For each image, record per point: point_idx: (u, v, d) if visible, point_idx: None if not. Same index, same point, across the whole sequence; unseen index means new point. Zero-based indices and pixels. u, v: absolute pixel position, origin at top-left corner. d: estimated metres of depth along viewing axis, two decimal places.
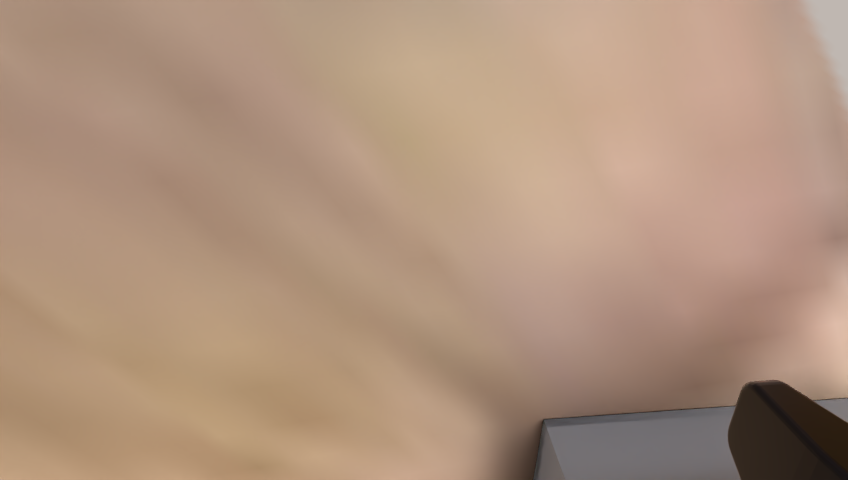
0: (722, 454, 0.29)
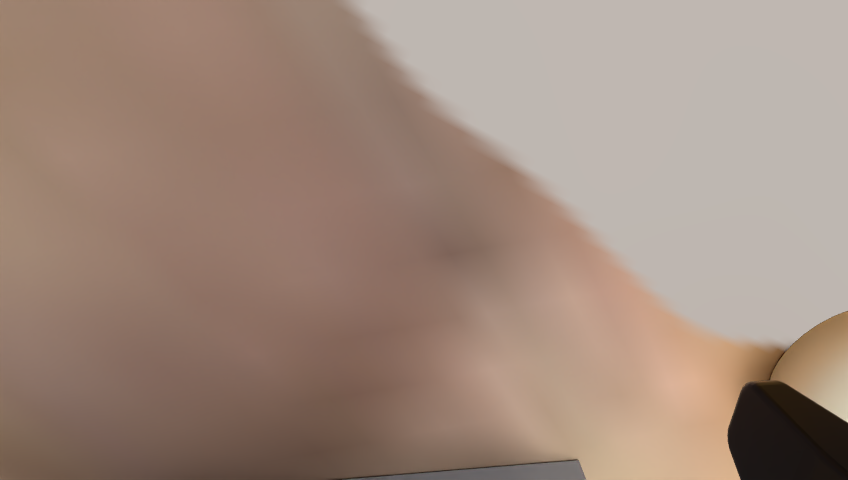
0: None
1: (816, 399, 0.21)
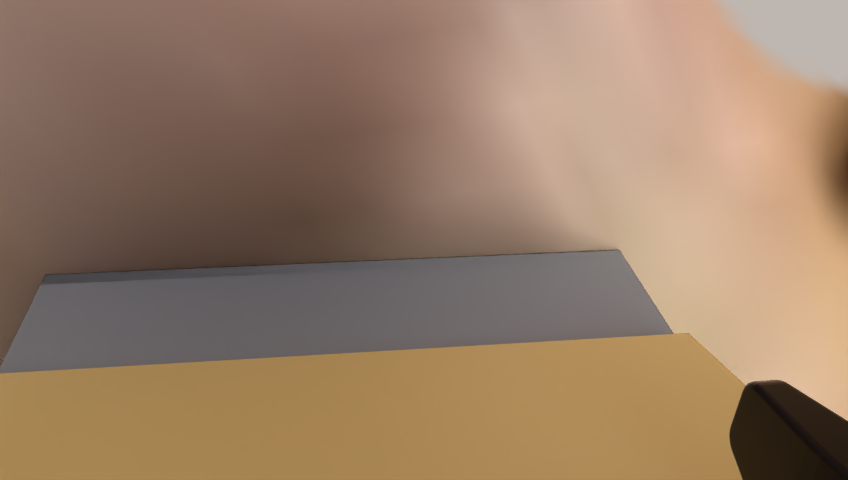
0: (317, 322, 0.17)
1: None
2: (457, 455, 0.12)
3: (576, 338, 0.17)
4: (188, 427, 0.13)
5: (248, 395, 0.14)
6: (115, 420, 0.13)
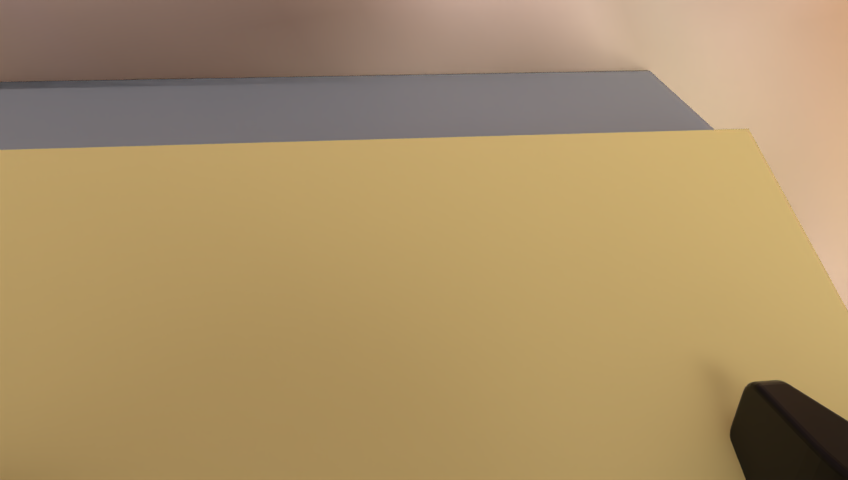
0: (304, 121, 0.15)
1: None
2: (467, 332, 0.11)
3: None
4: (152, 266, 0.11)
5: (221, 212, 0.11)
6: (64, 248, 0.11)
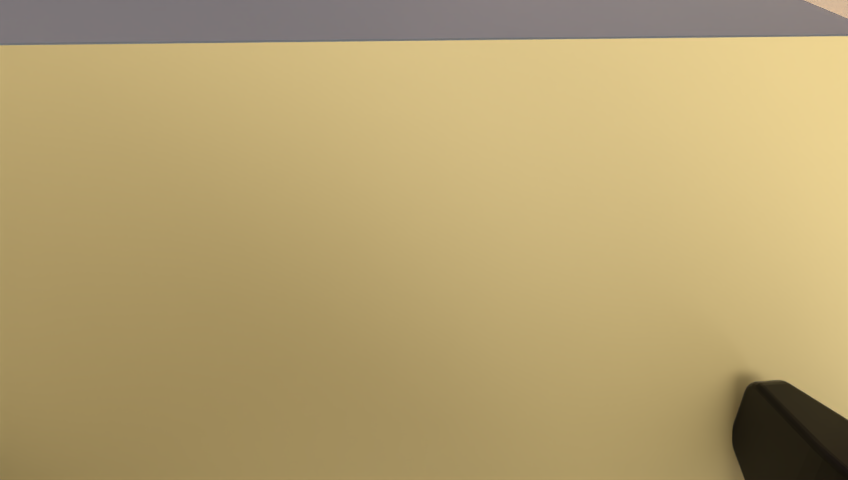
0: (284, 7, 0.11)
1: None
2: (478, 369, 0.09)
3: (705, 23, 0.10)
4: (93, 274, 0.08)
5: (172, 183, 0.08)
6: None
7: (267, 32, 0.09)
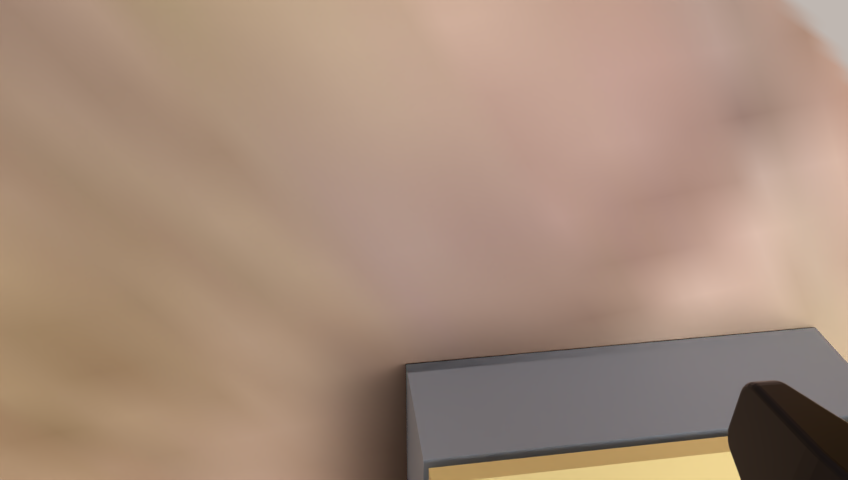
0: (620, 397, 0.24)
1: None
2: None
3: None
4: None
5: None
6: None
7: (630, 430, 0.22)
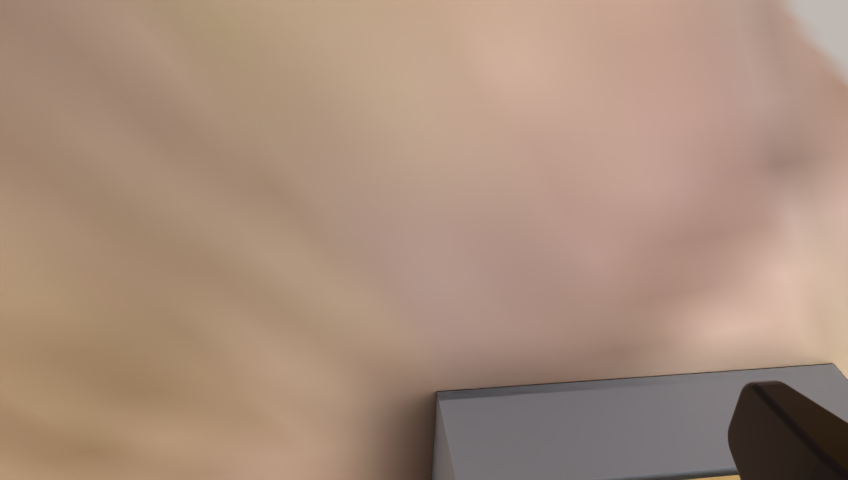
0: (647, 431, 0.24)
1: None
2: None
3: None
4: None
5: None
6: None
7: (658, 465, 0.23)
